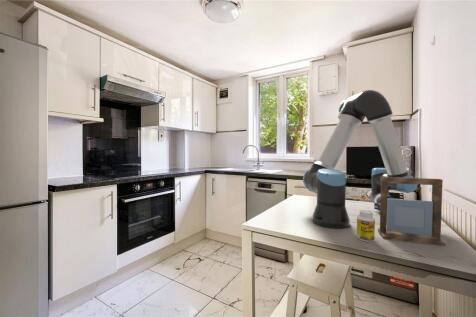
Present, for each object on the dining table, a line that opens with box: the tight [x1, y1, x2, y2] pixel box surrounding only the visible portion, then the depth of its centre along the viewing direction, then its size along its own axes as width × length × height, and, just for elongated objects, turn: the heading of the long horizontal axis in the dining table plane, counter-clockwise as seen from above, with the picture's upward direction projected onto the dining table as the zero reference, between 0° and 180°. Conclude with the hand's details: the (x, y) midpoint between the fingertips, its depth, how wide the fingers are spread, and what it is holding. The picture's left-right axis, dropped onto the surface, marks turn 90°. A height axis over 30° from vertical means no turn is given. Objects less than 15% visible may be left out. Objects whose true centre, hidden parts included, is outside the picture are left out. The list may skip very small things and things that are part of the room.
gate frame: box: [377, 177, 446, 247], centre depth 78 cm, size 18×8×22 cm, turn 69°
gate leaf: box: [386, 198, 433, 236], centre depth 78 cm, size 13×2×12 cm, turn 67°
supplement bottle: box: [356, 209, 376, 243], centre depth 77 cm, size 6×6×10 cm
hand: (404, 218), depth 79 cm, fingers closed
